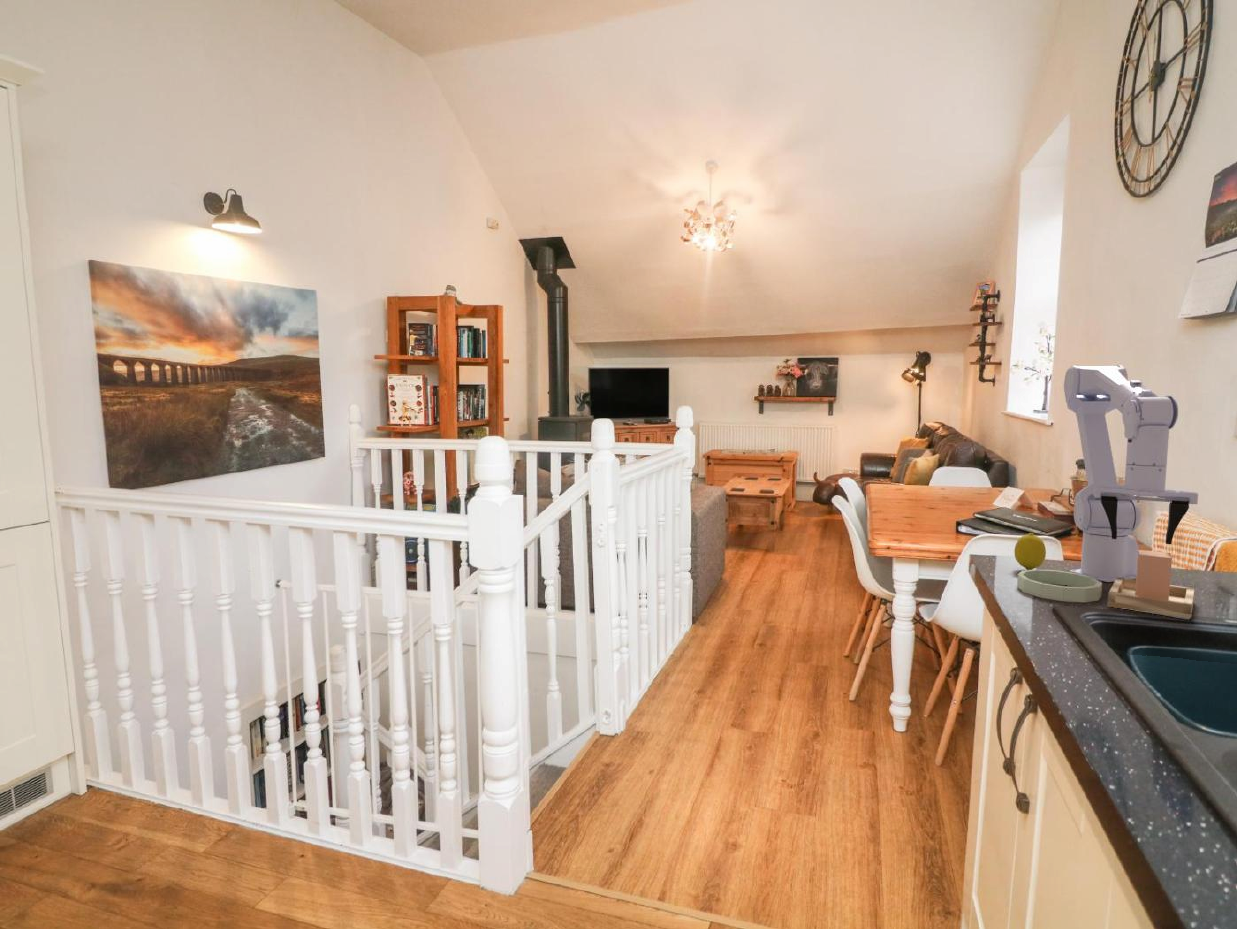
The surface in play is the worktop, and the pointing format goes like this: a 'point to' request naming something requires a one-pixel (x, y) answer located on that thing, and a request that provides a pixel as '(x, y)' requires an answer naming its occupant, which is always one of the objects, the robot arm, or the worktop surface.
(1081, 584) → the ceramic ring
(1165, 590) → the pink block
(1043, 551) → the lemon
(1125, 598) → the birch tray
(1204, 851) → the worktop surface
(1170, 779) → the worktop surface
